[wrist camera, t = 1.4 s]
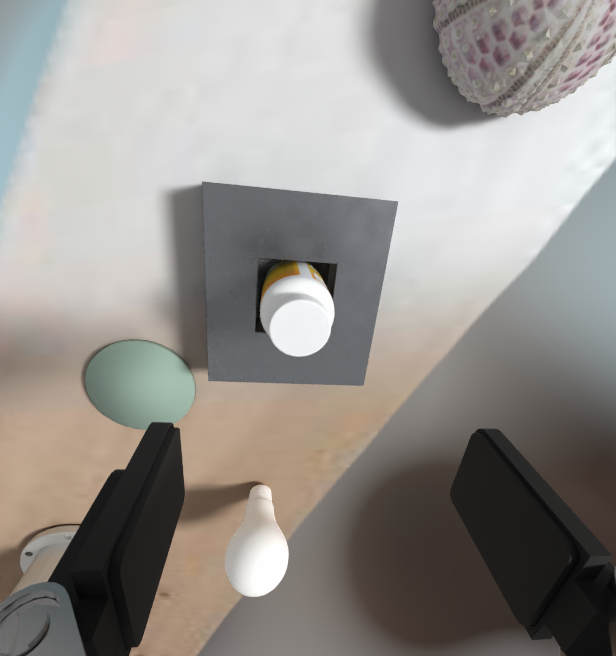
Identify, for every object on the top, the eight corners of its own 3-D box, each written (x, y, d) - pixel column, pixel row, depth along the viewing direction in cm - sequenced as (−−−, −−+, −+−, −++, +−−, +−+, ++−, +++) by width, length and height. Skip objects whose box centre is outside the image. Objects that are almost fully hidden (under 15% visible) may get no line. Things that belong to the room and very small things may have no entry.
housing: (355, 366, 33) (363, 385, 30) (215, 361, 31) (208, 380, 28) (383, 200, 27) (398, 201, 24) (211, 182, 25) (202, 181, 22)
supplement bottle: (257, 307, 30) (248, 357, 21) (270, 250, 28) (267, 278, 19) (313, 320, 31) (327, 373, 22) (329, 266, 29) (353, 300, 20)
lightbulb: (268, 510, 40) (266, 617, 30) (225, 494, 38) (207, 601, 28) (296, 479, 39) (302, 582, 29) (252, 460, 37) (242, 562, 27)
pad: (197, 426, 34) (196, 430, 34) (97, 424, 33) (94, 428, 32) (193, 342, 30) (192, 344, 30) (79, 337, 29) (76, 339, 29)
